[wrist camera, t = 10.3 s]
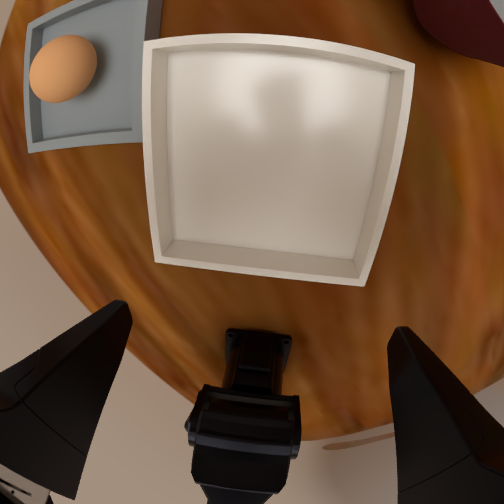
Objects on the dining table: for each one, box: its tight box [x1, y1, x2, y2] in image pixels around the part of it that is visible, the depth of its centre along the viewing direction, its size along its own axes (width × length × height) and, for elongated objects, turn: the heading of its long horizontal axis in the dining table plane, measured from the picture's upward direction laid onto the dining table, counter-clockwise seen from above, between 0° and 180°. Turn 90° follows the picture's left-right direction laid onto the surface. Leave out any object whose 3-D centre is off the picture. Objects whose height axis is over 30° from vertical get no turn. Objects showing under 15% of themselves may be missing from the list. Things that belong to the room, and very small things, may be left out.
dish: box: [142, 33, 415, 287], centre depth 16 cm, size 15×15×3 cm
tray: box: [24, 0, 163, 153], centre depth 14 cm, size 12×12×2 cm
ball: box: [29, 35, 97, 103], centre depth 12 cm, size 5×5×5 cm
